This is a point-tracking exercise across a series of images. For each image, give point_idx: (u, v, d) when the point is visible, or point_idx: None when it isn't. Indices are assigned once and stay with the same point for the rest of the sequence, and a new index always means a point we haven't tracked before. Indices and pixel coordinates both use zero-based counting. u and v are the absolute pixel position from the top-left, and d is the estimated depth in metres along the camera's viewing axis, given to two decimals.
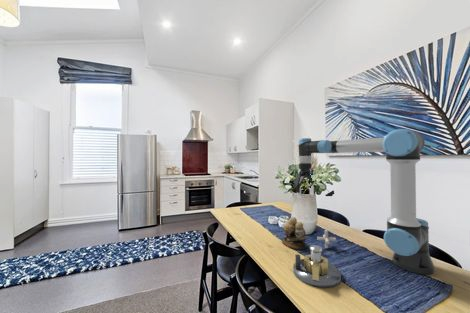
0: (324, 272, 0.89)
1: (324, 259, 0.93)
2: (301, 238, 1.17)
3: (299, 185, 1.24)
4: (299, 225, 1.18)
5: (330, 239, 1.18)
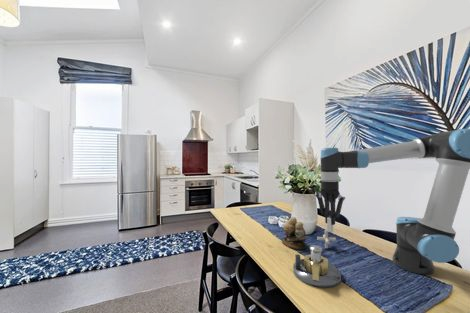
0: (324, 272, 0.89)
1: (324, 259, 0.93)
2: (301, 238, 1.17)
3: (325, 214, 0.97)
4: (299, 225, 1.18)
5: (330, 239, 1.18)
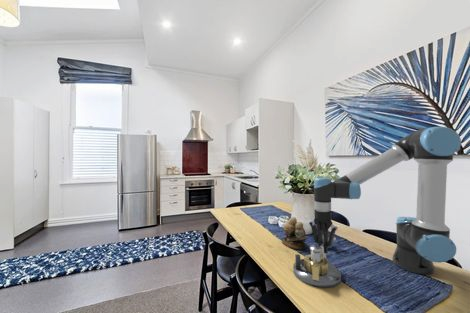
0: (324, 272, 0.89)
1: (324, 259, 0.93)
2: (301, 238, 1.17)
3: (318, 242, 0.99)
4: (299, 225, 1.18)
5: None
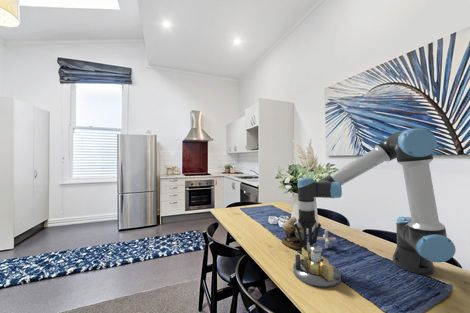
0: None
1: None
2: None
3: (304, 242, 1.00)
4: (299, 225, 1.18)
5: (330, 239, 1.18)
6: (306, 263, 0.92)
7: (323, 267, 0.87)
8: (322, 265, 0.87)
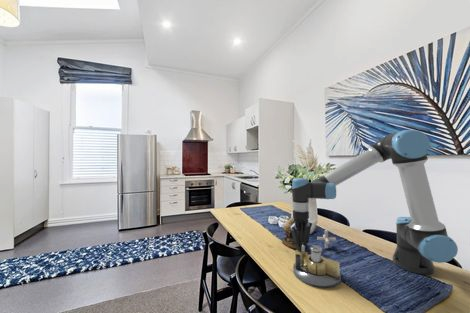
0: None
1: None
2: None
3: (300, 244, 0.98)
4: None
5: (330, 239, 1.18)
6: (311, 266, 0.89)
7: (330, 265, 0.88)
8: (328, 263, 0.88)
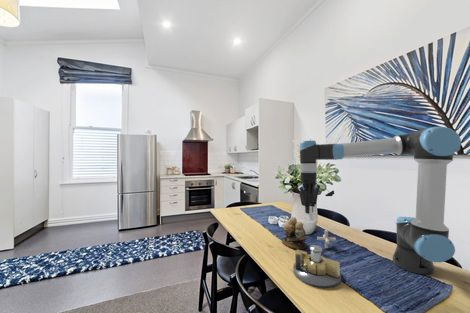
0: None
1: None
2: (301, 238, 1.17)
3: (308, 205, 1.00)
4: (299, 225, 1.18)
5: (330, 239, 1.18)
6: (311, 266, 0.89)
7: (330, 265, 0.88)
8: (328, 263, 0.88)
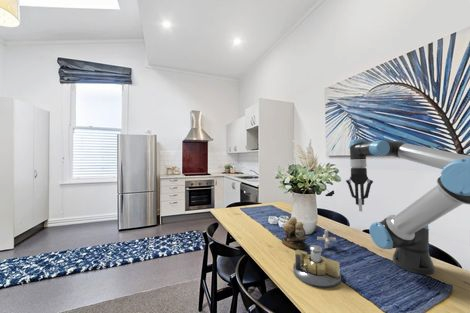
0: None
1: None
2: (301, 238, 1.17)
3: (356, 197, 1.12)
4: (299, 225, 1.18)
5: (330, 239, 1.18)
6: (311, 266, 0.89)
7: (330, 265, 0.88)
8: (328, 263, 0.88)
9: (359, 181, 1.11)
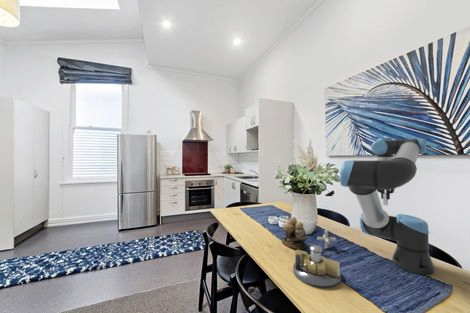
0: None
1: None
2: (301, 238, 1.17)
3: (381, 191, 1.21)
4: (299, 225, 1.18)
5: (330, 239, 1.18)
6: (311, 266, 0.89)
7: (330, 265, 0.88)
8: (328, 263, 0.88)
9: None
